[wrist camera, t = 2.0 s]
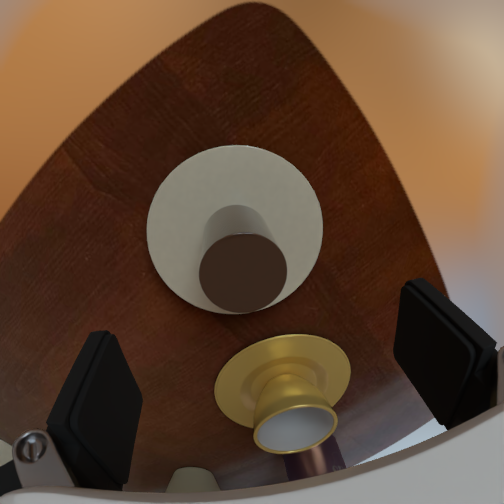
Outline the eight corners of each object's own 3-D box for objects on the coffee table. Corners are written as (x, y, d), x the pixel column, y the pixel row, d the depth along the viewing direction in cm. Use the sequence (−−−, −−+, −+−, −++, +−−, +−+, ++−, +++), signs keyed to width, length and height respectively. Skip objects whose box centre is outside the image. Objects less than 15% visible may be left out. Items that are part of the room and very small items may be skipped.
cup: (197, 348, 23) (195, 399, 18) (348, 315, 24) (376, 357, 19) (231, 435, 28) (235, 479, 23) (347, 408, 28) (365, 448, 23)
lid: (131, 276, 21) (104, 332, 15) (184, 119, 18) (168, 111, 11) (276, 322, 23) (296, 384, 17) (343, 185, 20) (395, 209, 14)
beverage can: (269, 448, 30) (294, 569, 16) (311, 421, 28) (352, 549, 14) (305, 460, 31) (334, 565, 17) (343, 435, 30) (386, 544, 16)
